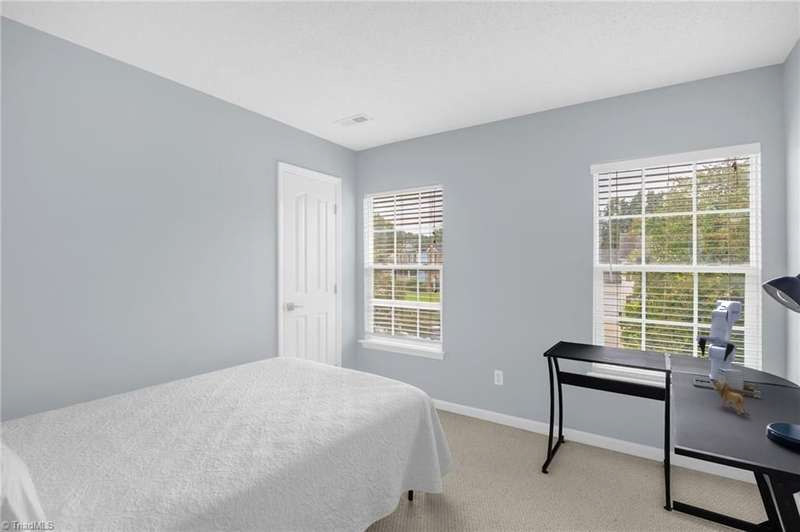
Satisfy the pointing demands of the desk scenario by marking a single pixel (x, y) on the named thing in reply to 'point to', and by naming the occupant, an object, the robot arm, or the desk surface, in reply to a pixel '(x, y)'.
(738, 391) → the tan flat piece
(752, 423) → the desk surface
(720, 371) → the medicine box
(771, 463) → the desk surface
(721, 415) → the desk surface
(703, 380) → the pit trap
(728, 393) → the lion figurine
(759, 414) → the desk surface
